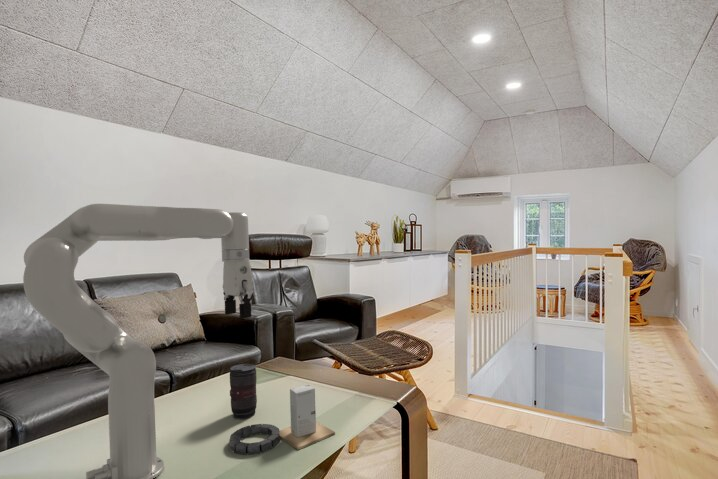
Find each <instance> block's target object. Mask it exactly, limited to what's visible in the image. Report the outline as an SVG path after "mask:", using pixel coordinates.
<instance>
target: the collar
mask: <svg viewBox="0 0 718 479" xmlns="http://www.w3.org/2000/svg"><path fill="white" fill-rule="evenodd" d="M255 435H266V436H268V438H266V439H263V440H261V441H256V442H243V441H242V440H244V438H248V437H250V436H255ZM280 439H281V438H280V428H279V427H277V426H275V425H273V424H269V423H257V424H256V423H255V424H251V425H246V426H243V427H241V428H238V429H237V430H235V431H234V432H233V433H231V435H230V437H229V440H228V442H229V443H228V444H229V445H228V446H229V449H230V450H231V451H232V452H233V453H234V454H236V455H237V454H238V455H242V456H251V455H252V456H253V455H260V454H263V453H265V452H268V451H270V450H272V449H274V448H275V447H276V446H278V444H280V441H281V440H280Z"/></svg>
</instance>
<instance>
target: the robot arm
mask: <svg viewBox="0 0 718 479" xmlns="http://www.w3.org/2000/svg"><path fill="white" fill-rule="evenodd" d="M249 234H250V232H249V218H248V214H247V213H244V212H236V211H235V212H227V211H225V210H223V209H219V208H218V209H217V208H202V207H201V208H200V207H173V206H155V205H154V206H153V205H152V206H151V205H135V204H134V205H132V204H113V203H91V204H87V205H85V206H83V207H80V208H78V209H77V210H75V211H74V212H72V213H71V214H70V215H69V216H67V217H66V218H64V219H63V220H62V221H61V222H60V223H58V224H57V225H55V226H54V227H53V228H51V229H50V230H48V231H47V232H46V233H44V234H42V235H41V236H40V237H38V238H37V239H36V240H35V241H33V242H32V243H30V245H28V246H27V248H26V249H25V251H24V253H23V262H24V265H25V268H24V270H23V275H22V276H23V277H22V280H23V290H24V294H25V297H26V298H27V301H28V302H29V303H30V305H31V307H33V309H34V310H36V311H37V313H39V314H40V315H41V316H42V318H44V319H45V320H46V321H48V322H49V323H50V324H51V325H52V326H53V327H54V328H55V329H57V331H59V332H60V333H61V334H62V336H63V338H64V340H65V341H66V342H68V344H70V346H71V347H73V348H74V349H75V350H77V351H78V352H79V353H80V354H81V355H83V356H84V357H85V358H86V359H88V360H89V361H90V362H92V363H93V364H94V365H95V366H97V367H98V368H99V369H101V371H103V372H104V373H105V374H107V375H108V377H109V386H108V387H109V388H108V396H107V410H108V411H107V412H108V413H107V414H108V430H109V431H108V435H109V458H107V459H106V463H105V464H102V466H101V467H98V468H94V469H91V470H89V471H86V472H85V478H86V479H153V478H155V477H156V478H157V477H159V476H160V474H162V473H163V471H164V468H165V463H164V460H163V459H162V458H160V457H157V435H156V433H157V432H156V431H157V430H156V409H155V408H156V407H155V381H156V380H155V379H156V371H157V359H156V356H155V353H154V351H153V349H152V348H151V347H150V346H149V345H148V344H146V343H145V342H142V341H140V340H138V339H135V338H133V337H132V336H130V335H129V334H128V333H127V332H126V331H124V330H123V329H122V328H121V327H120V325H119V324H118V322H117V319H115V317H114V316H113V315H112V314H111V313H109V312H108V311H106V310H105V309H103V308H102V307H101V306H100V304H98V303H97V302H96V301H94V300H93V299H92V298H91V297H90V296H89V295H88V294H87V293H86V291H84V290H83V289H82V288H81V287H80V286H79V285H78V283H77V281H76V278H75V269H76V267H77V265H78V263H79V257H81V256H82V255H83V254H84V253H85V252H87V251H88V250H90V249H91V248H92V247H93V246H94V245H95V244H96V243H97V242H103V241H104V242H105V241H108V242H110V241H111V242H112V241H114V242H115V241H116V242H117V241H121V242H123V241H125V242H126V241H128V242H129V241H133V242H134V241H136V242H138V241H139V242H140V241H142V242H143V241H145V242H147V241H148V242H151V241H169V240H177V239H193V238H195V239H196V238H197V239H201V240H211V239H221V240H220V241H221V262H223V268H222V269H223V272H222V274H223V275H222V276H223V277H222V280H223V282H222V283H223V284H222V290H223V295H224V296H223V301H224V314H225V315H232V314H237V299H235V298H236V297H238V300H239V302H240V303H239V308H238V309H239V318H240V319H242V320H243V319H248V318H251V317H252V303H253V302H252V298H253V294H254V286H253V284H254V283H253V275H252V274H253V273H252V268H251V262H250V239H249V238H250V237H249ZM158 475H159V476H158ZM156 478H155V479H156Z"/></svg>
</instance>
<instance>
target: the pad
mask: <svg viewBox="0 0 718 479" xmlns="http://www.w3.org/2000/svg"><path fill="white" fill-rule="evenodd" d="M279 431H280V439H282V441H285V443H287V444H289V445H290V446H292V447H293V448H295V449H296V450H298V451H299V450H302V449H304V448H306V447H308V446H311V445H313V444H316V443H317V442H320V441H322V440H325V439H327V438H330V437H332V436H334V435H336V432H335V431H334V430H332V429H330V428H328V427H326V425H325V426H324V425H323V424H321V423H319V422H317V421H316V432H314V433H311V434H307V435H304V436H300V437H296V436H295V435H294V434H293V433H292V432H291V425H290V426H288V427H285V428H282V429H279Z"/></svg>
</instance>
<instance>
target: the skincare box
mask: <svg viewBox="0 0 718 479" xmlns="http://www.w3.org/2000/svg"><path fill="white" fill-rule="evenodd" d="M289 398H290V399H289V401H290V402H289V404H290V405H289V406H290V407H289V408H290V410H289V412H290V426H291V432H292V433H293V434H294V435H295V436H296V437H300V436H304V435H307V434H311V433H314V432H316V422H317V417H316V416H317V415H316V414H317V413H316V388H315V387H313V386H311V385H310V384H306V385H301V386H297V387H293V388H290V389H289Z"/></svg>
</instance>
